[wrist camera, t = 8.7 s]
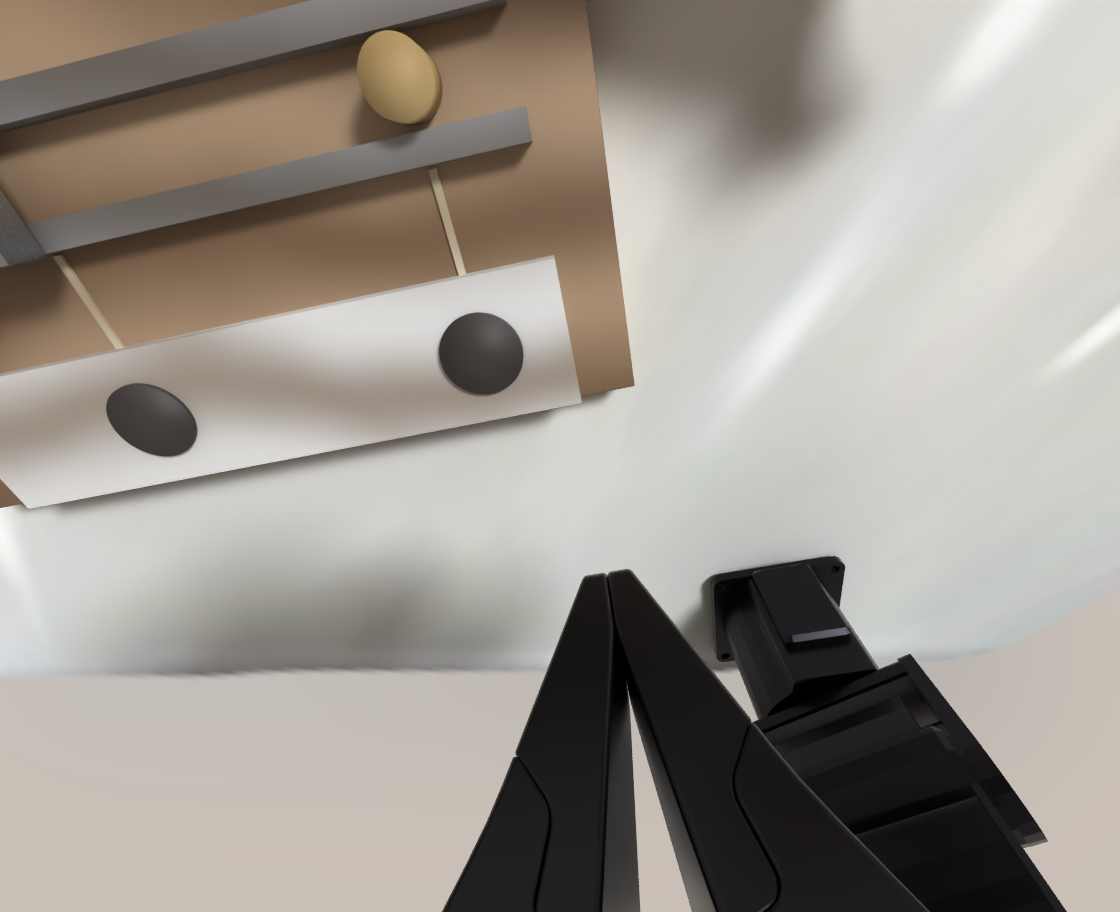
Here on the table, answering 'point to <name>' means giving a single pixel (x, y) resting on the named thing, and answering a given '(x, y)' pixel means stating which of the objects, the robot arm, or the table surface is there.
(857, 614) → the table surface
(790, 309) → the table surface
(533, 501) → the table surface
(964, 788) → the robot arm
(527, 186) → the brown flat wooden board
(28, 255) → the sliding handle
